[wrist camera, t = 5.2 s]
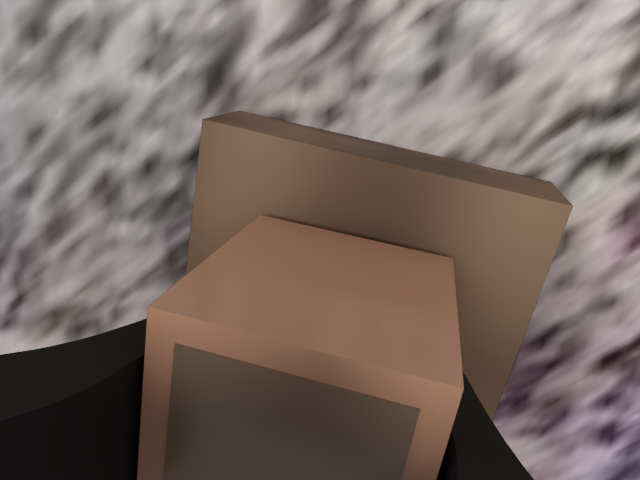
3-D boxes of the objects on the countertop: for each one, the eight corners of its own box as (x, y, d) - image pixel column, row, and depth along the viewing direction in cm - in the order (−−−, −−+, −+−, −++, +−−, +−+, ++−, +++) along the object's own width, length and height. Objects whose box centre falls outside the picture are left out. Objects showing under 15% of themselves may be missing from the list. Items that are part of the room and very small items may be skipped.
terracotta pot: (238, 377, 15) (131, 542, 10) (260, 215, 13) (146, 308, 8) (408, 423, 14) (391, 627, 9) (453, 258, 12) (463, 390, 7)
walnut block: (210, 359, 19) (170, 410, 16) (244, 109, 16) (202, 119, 13) (458, 434, 18) (460, 503, 15) (548, 179, 15) (572, 205, 12)
